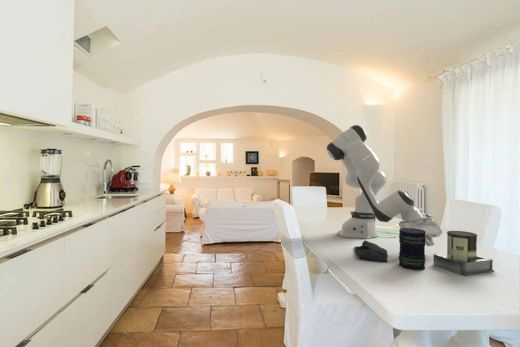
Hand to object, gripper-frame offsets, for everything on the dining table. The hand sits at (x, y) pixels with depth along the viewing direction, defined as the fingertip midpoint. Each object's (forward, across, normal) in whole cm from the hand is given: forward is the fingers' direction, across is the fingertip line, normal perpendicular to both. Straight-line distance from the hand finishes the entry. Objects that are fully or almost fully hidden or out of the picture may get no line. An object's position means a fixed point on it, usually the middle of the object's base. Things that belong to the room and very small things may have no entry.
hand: (431, 245), depth 140 cm
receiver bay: (+14, -1, -7) cm, 16 cm away
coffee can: (+14, -1, -7) cm, 16 cm away
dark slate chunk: (-4, -24, +13) cm, 27 cm away
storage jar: (+9, -19, -2) cm, 21 cm away
